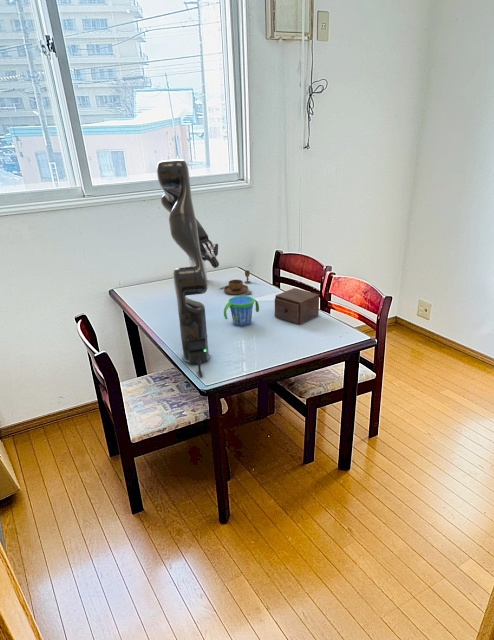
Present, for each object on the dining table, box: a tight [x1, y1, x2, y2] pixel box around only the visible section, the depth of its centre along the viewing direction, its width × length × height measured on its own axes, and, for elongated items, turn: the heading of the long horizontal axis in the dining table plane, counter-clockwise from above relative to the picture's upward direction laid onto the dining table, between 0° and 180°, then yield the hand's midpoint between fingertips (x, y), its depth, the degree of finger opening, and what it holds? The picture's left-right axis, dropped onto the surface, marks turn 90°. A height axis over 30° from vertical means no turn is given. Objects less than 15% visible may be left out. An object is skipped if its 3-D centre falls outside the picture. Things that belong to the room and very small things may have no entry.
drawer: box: [274, 298, 299, 324], centre depth 210 cm, size 13×12×8 cm
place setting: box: [220, 270, 252, 296], centre depth 244 cm, size 18×20×6 cm
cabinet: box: [274, 287, 320, 325], centre depth 211 cm, size 13×14×10 cm
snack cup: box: [223, 295, 260, 327], centre depth 206 cm, size 16×10×10 cm
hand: (217, 266), depth 205 cm, fingers closed
